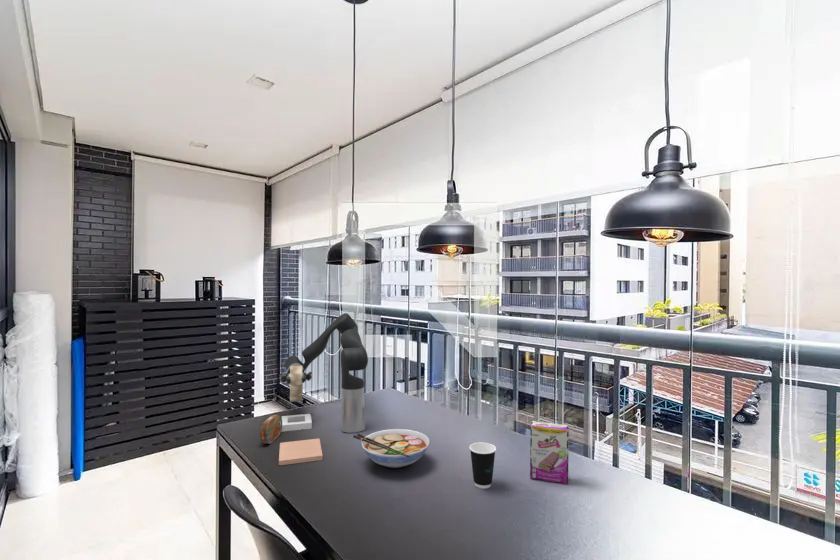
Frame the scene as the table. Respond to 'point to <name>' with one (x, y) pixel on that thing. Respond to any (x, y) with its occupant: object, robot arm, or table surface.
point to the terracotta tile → (300, 451)
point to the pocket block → (296, 422)
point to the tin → (271, 429)
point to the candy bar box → (549, 452)
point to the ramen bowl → (394, 446)
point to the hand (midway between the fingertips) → (296, 380)
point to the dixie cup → (482, 463)
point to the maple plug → (296, 383)
